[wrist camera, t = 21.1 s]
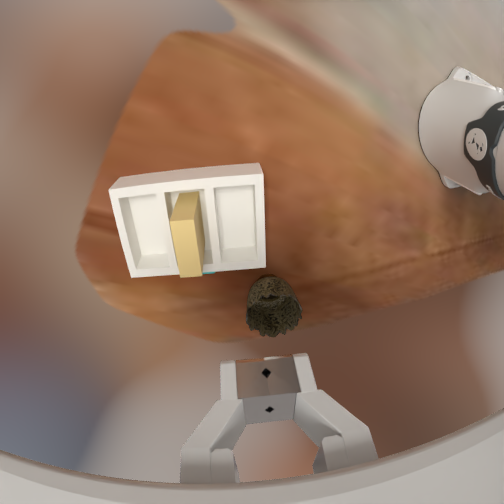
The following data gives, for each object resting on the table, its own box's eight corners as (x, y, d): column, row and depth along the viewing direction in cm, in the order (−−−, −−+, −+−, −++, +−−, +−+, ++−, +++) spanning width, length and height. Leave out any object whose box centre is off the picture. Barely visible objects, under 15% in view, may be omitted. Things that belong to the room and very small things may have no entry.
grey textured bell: (301, 278, 48) (314, 313, 41) (268, 307, 50) (275, 344, 44) (266, 252, 45) (273, 286, 38) (232, 285, 48) (234, 322, 41)
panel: (199, 191, 38) (193, 219, 32) (205, 240, 42) (202, 276, 35) (179, 193, 38) (169, 221, 31) (186, 242, 42) (180, 277, 35)
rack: (259, 162, 38) (263, 173, 34) (262, 252, 45) (266, 270, 41) (119, 177, 37) (108, 189, 34) (139, 262, 44) (132, 280, 40)
